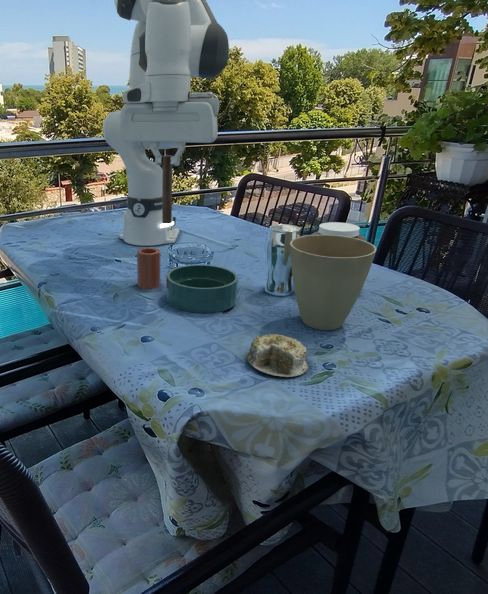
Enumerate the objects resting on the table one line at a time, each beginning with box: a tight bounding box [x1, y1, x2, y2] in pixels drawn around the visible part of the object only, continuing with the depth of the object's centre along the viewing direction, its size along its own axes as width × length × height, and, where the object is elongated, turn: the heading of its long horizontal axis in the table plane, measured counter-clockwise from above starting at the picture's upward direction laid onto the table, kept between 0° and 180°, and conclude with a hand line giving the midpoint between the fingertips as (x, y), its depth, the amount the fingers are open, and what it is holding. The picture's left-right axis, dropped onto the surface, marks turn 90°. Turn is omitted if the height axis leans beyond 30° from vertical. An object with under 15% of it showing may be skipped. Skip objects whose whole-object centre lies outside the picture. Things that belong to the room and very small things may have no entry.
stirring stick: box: [162, 154, 173, 224], centre depth 99 cm, size 2×2×14 cm
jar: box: [310, 221, 367, 242], centre depth 105 cm, size 12×12×15 cm
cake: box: [246, 333, 309, 378], centre depth 77 cm, size 10×10×5 cm
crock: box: [136, 247, 161, 290], centre depth 109 cm, size 5×5×9 cm
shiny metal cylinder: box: [264, 223, 301, 297], centre depth 104 cm, size 7×7×15 cm
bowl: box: [166, 264, 239, 314], centre depth 101 cm, size 15×15×6 cm
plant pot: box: [290, 234, 377, 331], centre depth 89 cm, size 15×15×16 cm
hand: (167, 165), depth 97 cm, fingers closed on stirring stick, 2 cm apart
